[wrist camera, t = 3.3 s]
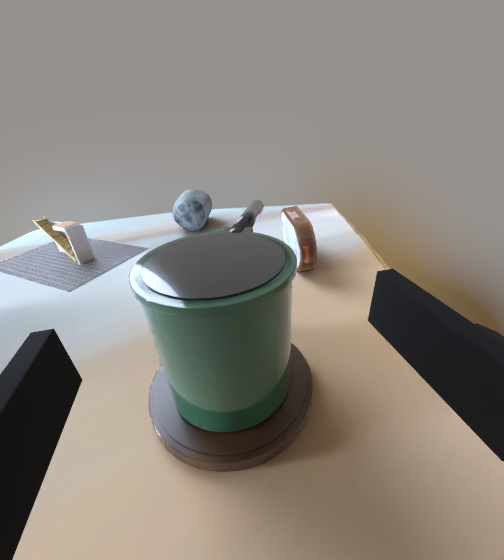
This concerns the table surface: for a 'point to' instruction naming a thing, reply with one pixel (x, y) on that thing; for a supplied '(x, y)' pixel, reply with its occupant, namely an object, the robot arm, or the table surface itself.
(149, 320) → the pot
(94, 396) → the table surface
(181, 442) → the turntable
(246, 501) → the table surface
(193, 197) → the spool
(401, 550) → the table surface
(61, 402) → the robot arm
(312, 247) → the tin
